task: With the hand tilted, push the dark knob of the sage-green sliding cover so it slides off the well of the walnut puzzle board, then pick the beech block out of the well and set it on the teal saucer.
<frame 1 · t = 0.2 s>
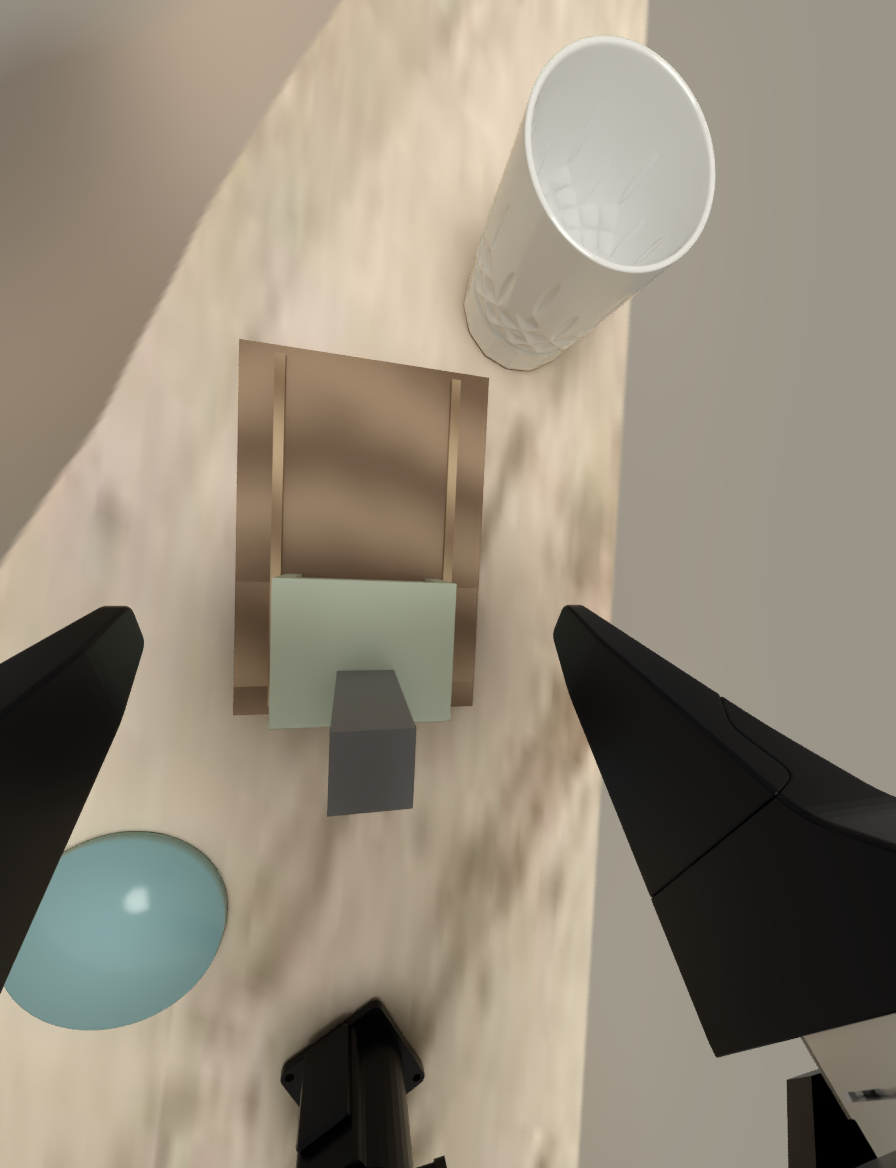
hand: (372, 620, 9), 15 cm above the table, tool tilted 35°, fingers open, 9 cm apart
teal saucer: (124, 922, 22), on the table
puzzle board: (365, 539, 23), on the table
sliding cover: (367, 660, 17), point 7 cm above the table, slide at 0.0 cm
white cup: (516, 315, 25), on the table
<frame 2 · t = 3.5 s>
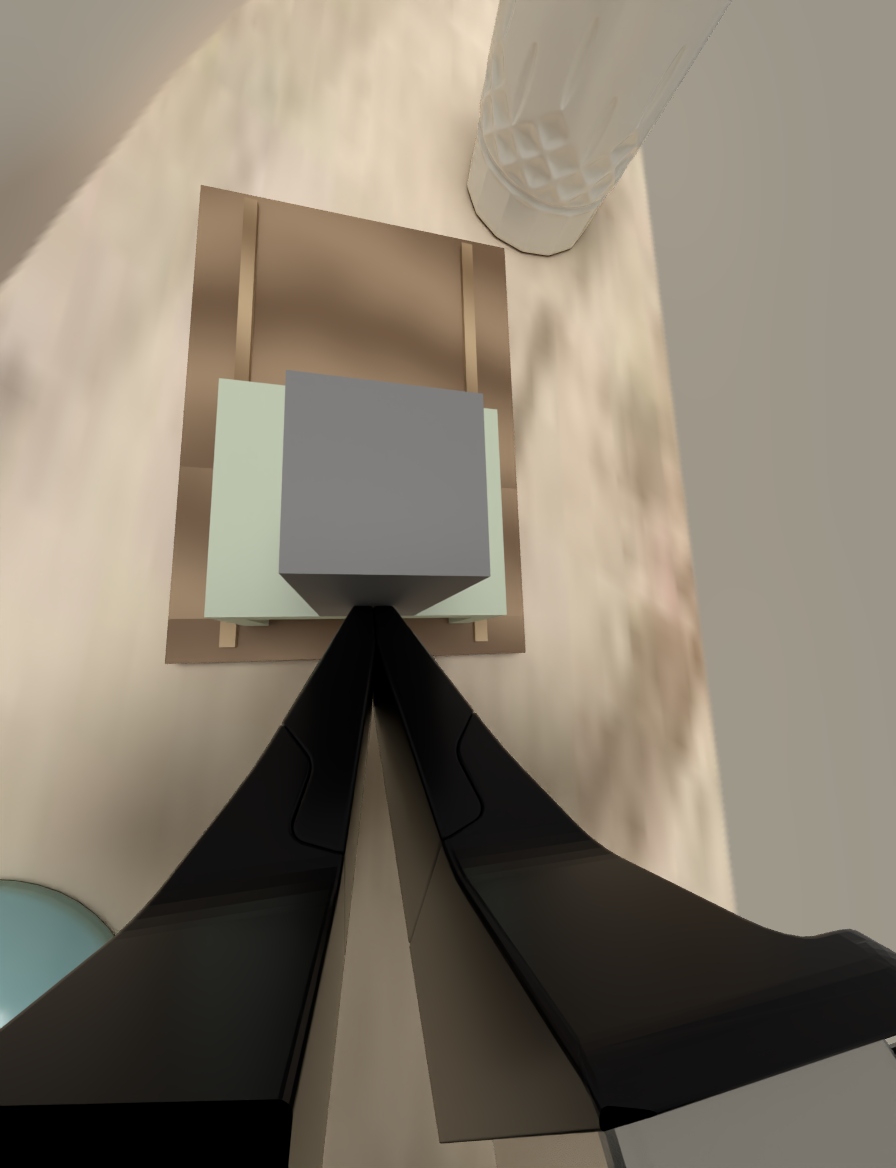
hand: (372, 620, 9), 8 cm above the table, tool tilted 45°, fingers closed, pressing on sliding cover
puzzle board: (363, 432, 18), on the table
sliding cover: (370, 485, 11), point 7 cm above the table, slide at 0.2 cm, touching gripper
white cup: (526, 205, 22), on the table
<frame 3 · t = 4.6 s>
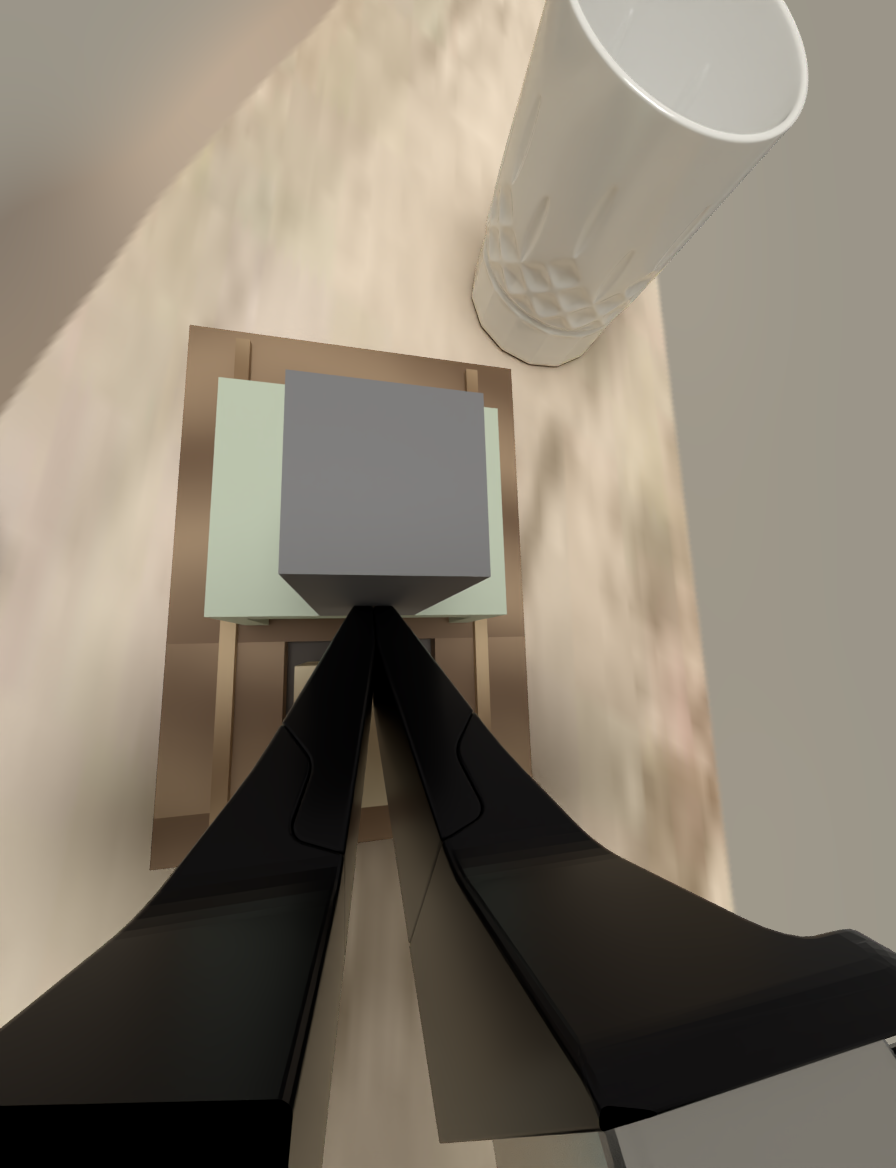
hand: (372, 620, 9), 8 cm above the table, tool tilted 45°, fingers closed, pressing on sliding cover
puzzle board: (362, 578, 17), on the table
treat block: (361, 712, 16), resting on puzzle board
sliding cover: (370, 484, 11), point 7 cm above the table, slide at 6.6 cm, touching gripper
white cup: (533, 310, 21), on the table
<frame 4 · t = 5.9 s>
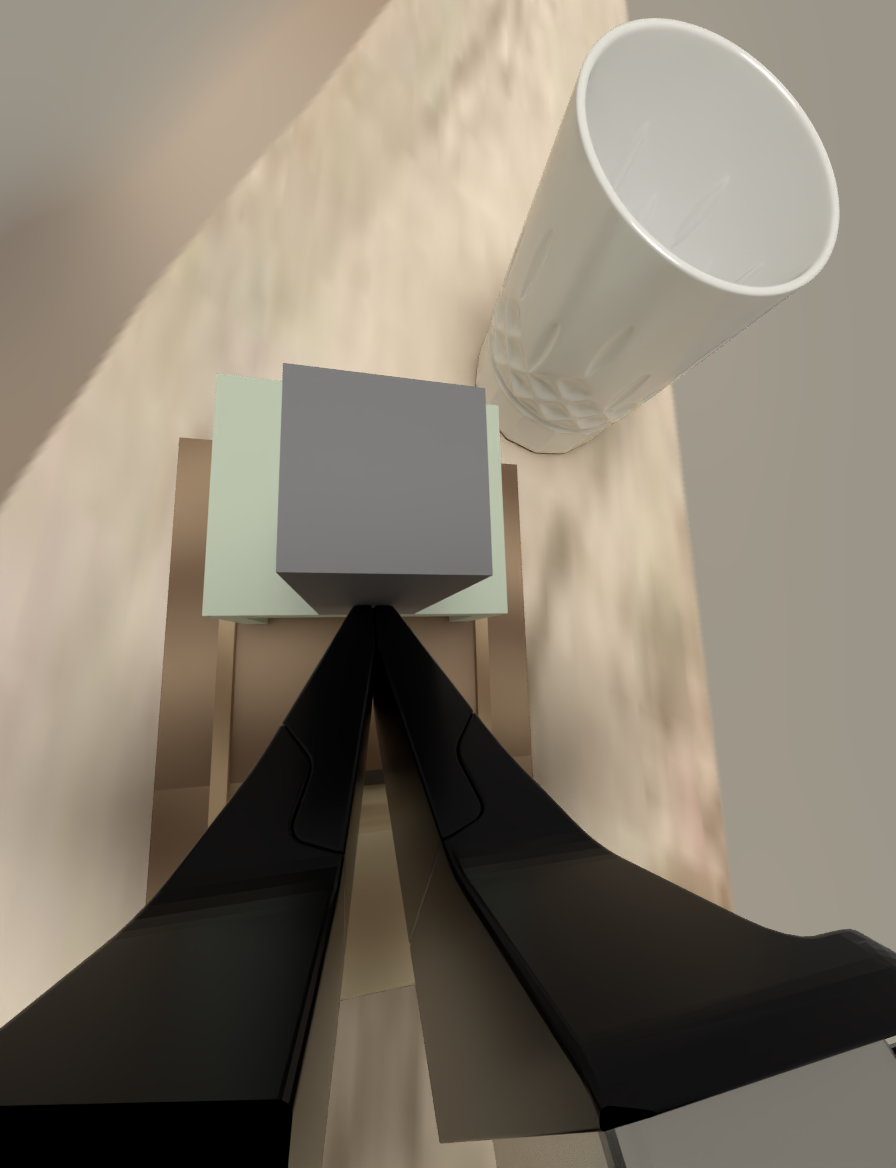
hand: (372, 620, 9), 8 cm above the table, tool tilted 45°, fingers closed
puzzle board: (361, 695, 16), on the table
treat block: (360, 843, 15), resting on puzzle board
sliding cover: (369, 482, 10), point 7 cm above the table, slide at 11.3 cm
white cup: (539, 392, 20), on the table
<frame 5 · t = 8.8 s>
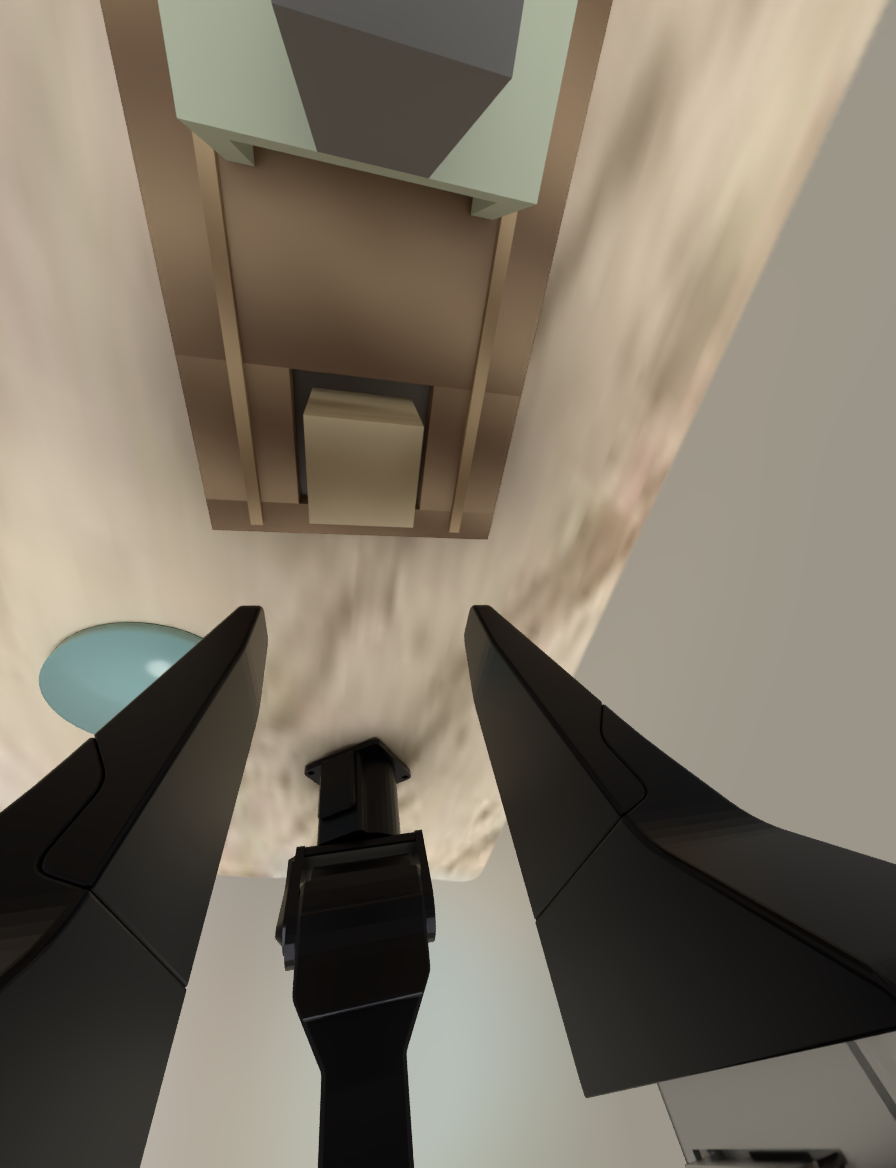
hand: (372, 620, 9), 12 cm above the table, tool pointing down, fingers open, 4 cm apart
teal saucer: (153, 684, 25), on the table
puzzle board: (365, 298, 15), on the table
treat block: (362, 441, 18), resting on puzzle board
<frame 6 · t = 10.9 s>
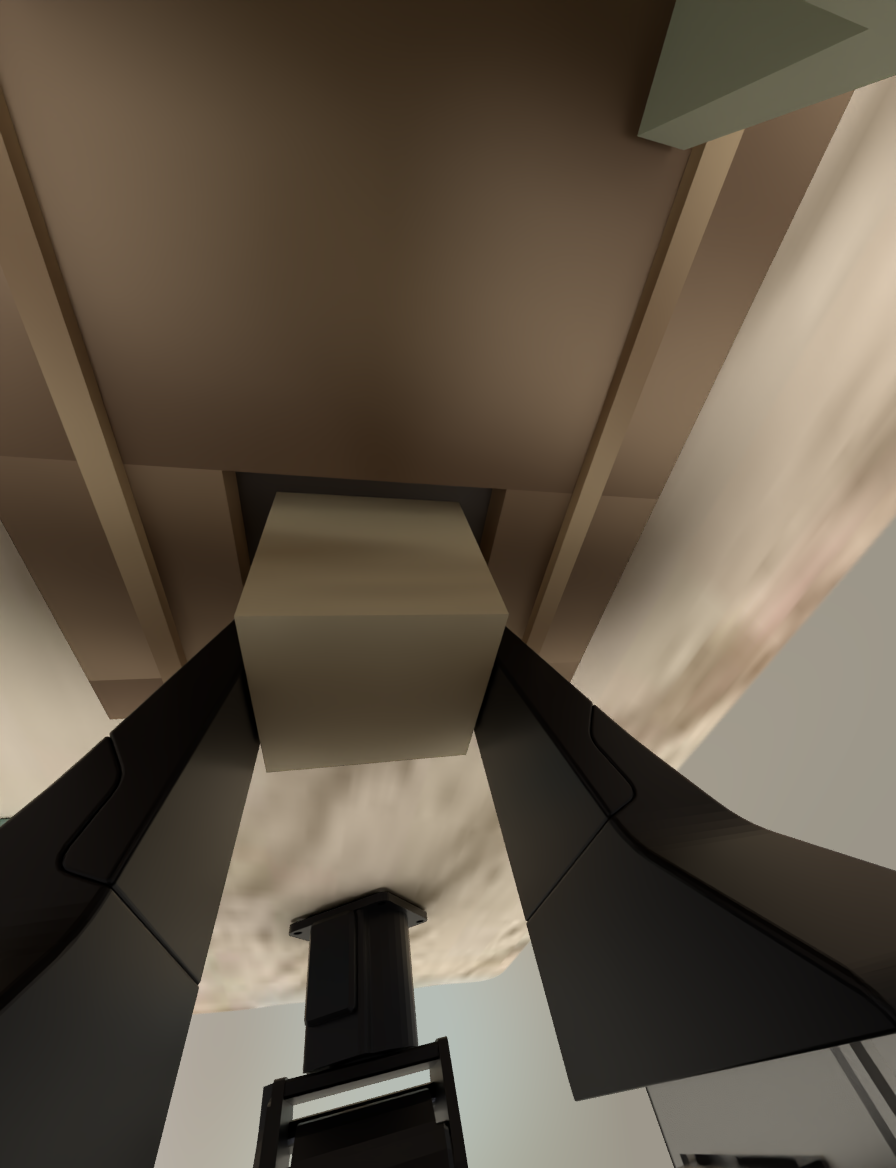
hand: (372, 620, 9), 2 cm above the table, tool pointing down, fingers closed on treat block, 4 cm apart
puzzle board: (378, 327, 7), on the table
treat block: (369, 570, 10), resting on puzzle board, touching gripper
when the fingers open (4 cm above the table, at t = 14.4 s): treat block drops 2 cm, resting on teal saucer.
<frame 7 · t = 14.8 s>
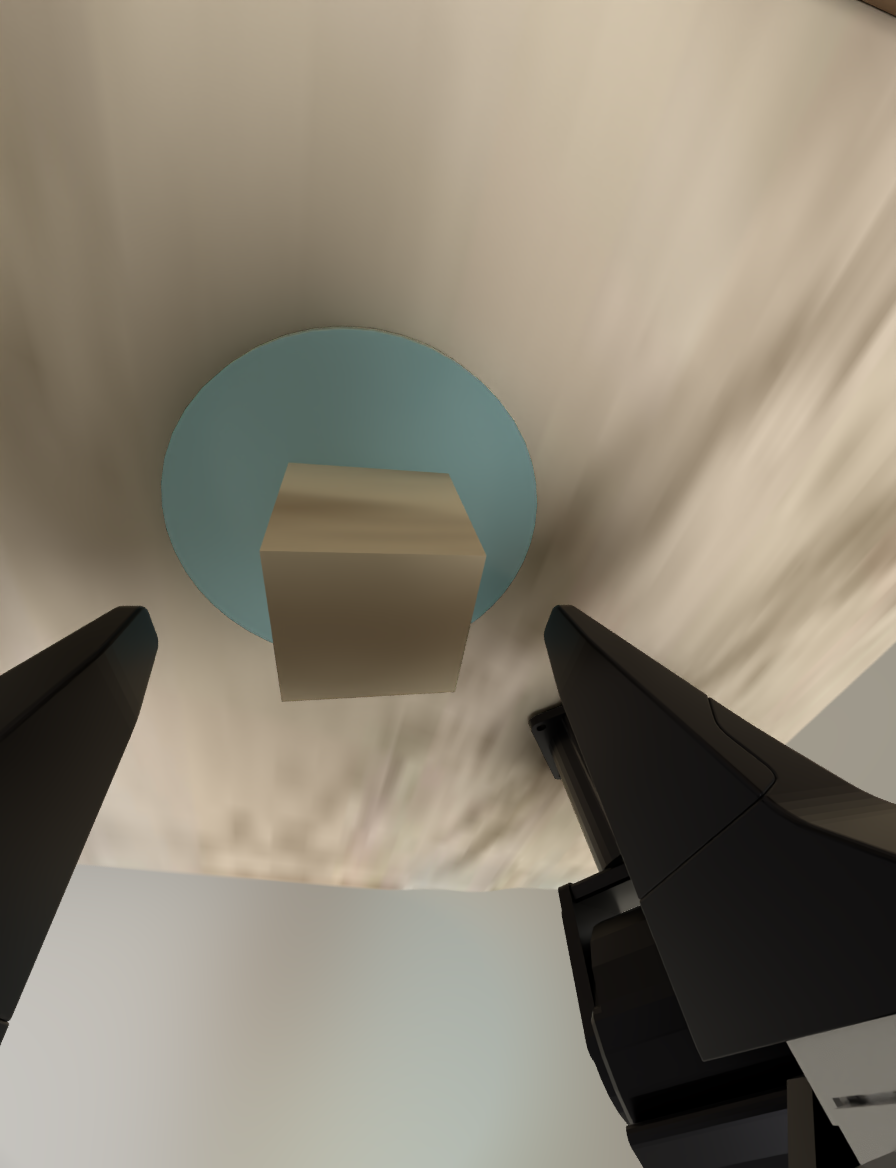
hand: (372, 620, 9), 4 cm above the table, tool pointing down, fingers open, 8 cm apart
teal saucer: (366, 523, 12), on the table
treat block: (369, 536, 12), point 1 cm above the table, touching teal saucer
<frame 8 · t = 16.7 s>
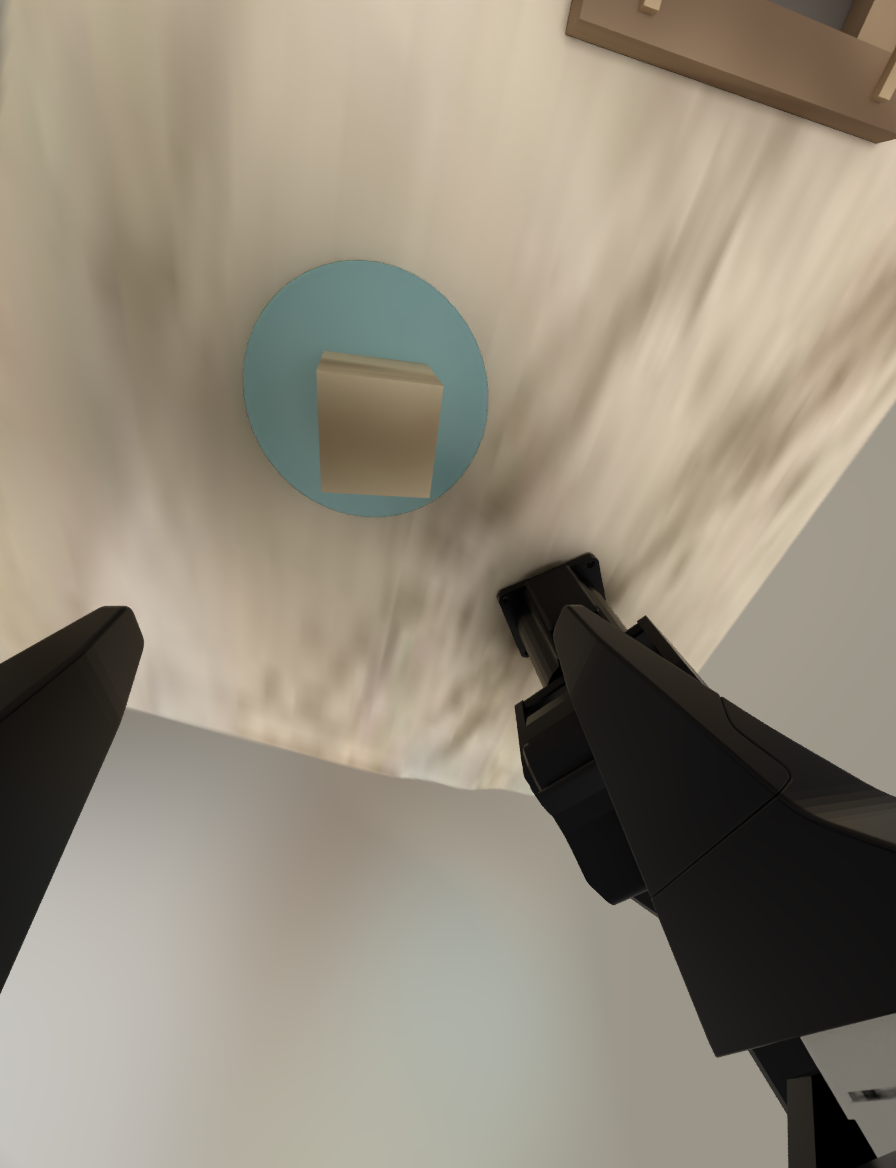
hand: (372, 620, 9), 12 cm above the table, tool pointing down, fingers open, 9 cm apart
teal saucer: (372, 406, 18), on the table
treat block: (374, 410, 17), point 1 cm above the table, touching teal saucer
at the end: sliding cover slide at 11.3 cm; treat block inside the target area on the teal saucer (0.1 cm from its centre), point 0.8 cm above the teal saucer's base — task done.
